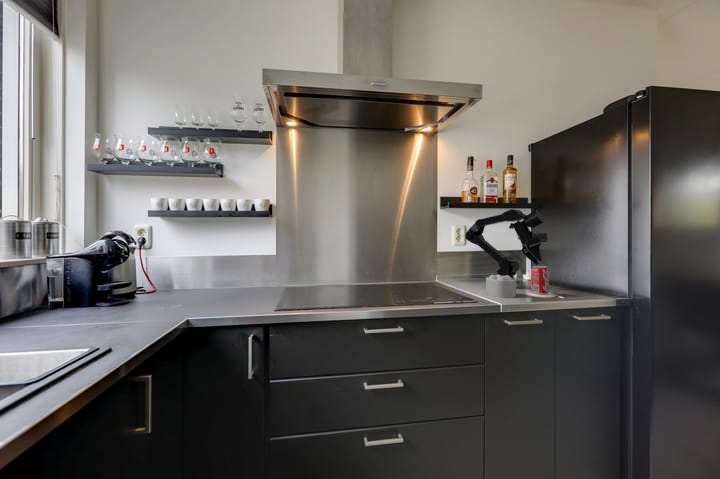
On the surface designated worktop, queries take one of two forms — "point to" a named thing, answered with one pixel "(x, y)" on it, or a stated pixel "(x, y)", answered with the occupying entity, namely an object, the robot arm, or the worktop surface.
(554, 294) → the tear line
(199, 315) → the worktop surface
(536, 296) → the coaster
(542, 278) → the soda can
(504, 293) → the grey bumpy block
